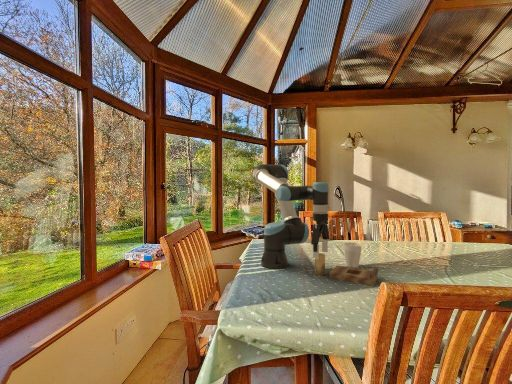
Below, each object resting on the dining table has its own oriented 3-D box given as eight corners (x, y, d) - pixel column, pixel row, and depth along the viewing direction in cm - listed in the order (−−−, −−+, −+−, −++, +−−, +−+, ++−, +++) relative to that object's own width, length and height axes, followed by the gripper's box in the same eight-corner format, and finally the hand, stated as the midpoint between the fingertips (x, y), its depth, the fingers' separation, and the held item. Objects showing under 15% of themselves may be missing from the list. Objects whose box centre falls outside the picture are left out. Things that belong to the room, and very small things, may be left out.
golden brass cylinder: (313, 274, 145) (313, 255, 144) (316, 271, 149) (316, 252, 149) (323, 276, 142) (323, 256, 142) (326, 273, 147) (326, 254, 146)
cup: (349, 269, 153) (350, 246, 153) (340, 264, 162) (340, 243, 161) (364, 267, 156) (364, 245, 155) (354, 262, 164) (354, 242, 164)
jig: (329, 277, 140) (329, 267, 140) (336, 270, 150) (336, 261, 150) (373, 286, 130) (373, 275, 130) (377, 277, 140) (377, 267, 140)
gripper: (319, 216, 131) (319, 262, 132) (335, 210, 153) (335, 250, 154) (304, 215, 135) (304, 259, 136) (321, 210, 157) (321, 248, 158)
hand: (320, 254), depth 145 cm, fingers open, 13 cm apart
